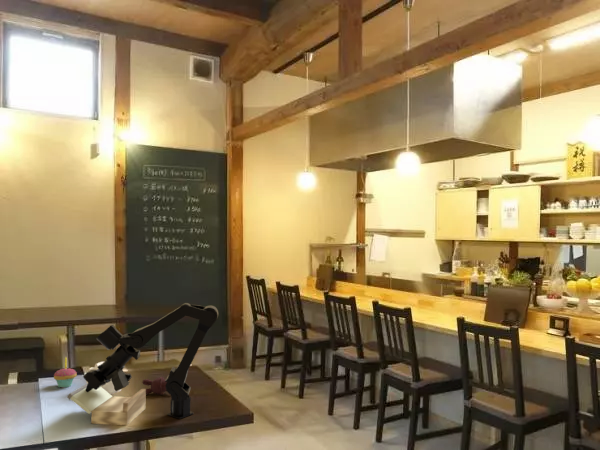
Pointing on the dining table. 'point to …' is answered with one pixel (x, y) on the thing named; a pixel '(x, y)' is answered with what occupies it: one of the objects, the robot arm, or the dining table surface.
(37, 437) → the dining table surface
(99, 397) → the panel
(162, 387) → the icecream
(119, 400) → the cream and gold block
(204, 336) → the robot arm
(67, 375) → the cupcake
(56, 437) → the dining table surface
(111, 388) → the mug
